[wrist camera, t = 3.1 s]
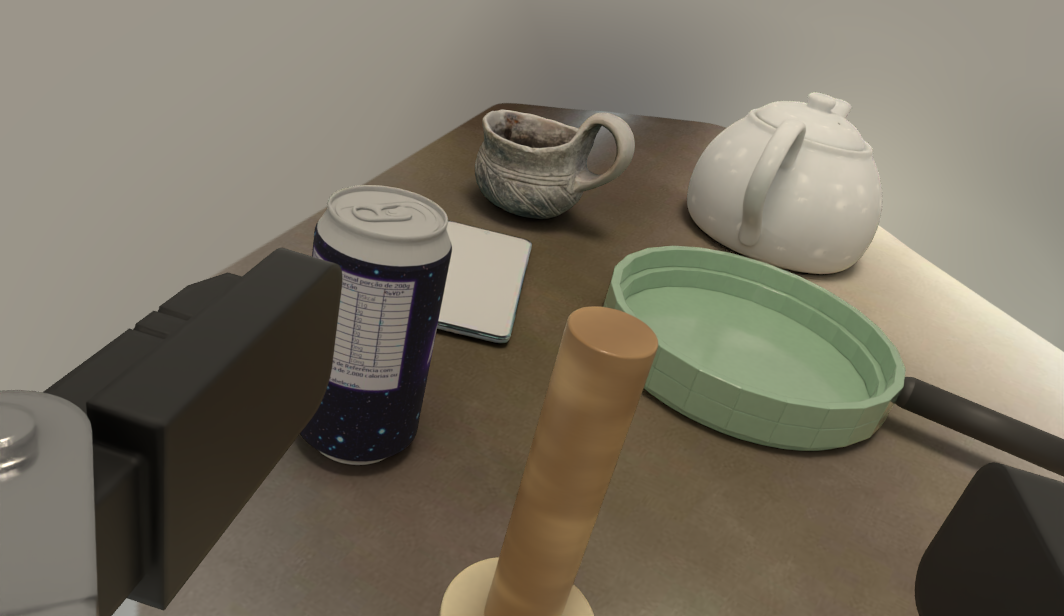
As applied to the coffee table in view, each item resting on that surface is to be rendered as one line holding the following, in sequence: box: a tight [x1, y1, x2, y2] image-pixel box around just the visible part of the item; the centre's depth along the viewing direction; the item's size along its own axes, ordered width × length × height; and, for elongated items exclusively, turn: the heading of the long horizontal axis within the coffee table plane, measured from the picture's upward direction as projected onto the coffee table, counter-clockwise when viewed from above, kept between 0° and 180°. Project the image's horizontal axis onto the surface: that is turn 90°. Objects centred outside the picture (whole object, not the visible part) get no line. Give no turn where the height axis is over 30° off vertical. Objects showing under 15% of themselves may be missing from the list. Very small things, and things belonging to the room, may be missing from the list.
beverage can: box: [300, 185, 452, 465], centre depth 36 cm, size 6×6×12 cm
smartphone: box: [437, 221, 532, 343], centre depth 54 cm, size 7×1×15 cm
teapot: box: [687, 92, 882, 274], centre depth 72 cm, size 19×18×14 cm
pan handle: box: [895, 377, 1064, 476], centre depth 48 cm, size 12×2×2 cm, turn 63°
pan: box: [603, 246, 906, 451], centre depth 53 cm, size 19×19×4 cm
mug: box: [475, 110, 635, 219], centre depth 65 cm, size 10×12×10 cm
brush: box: [438, 306, 658, 616], centre depth 26 cm, size 6×6×15 cm
